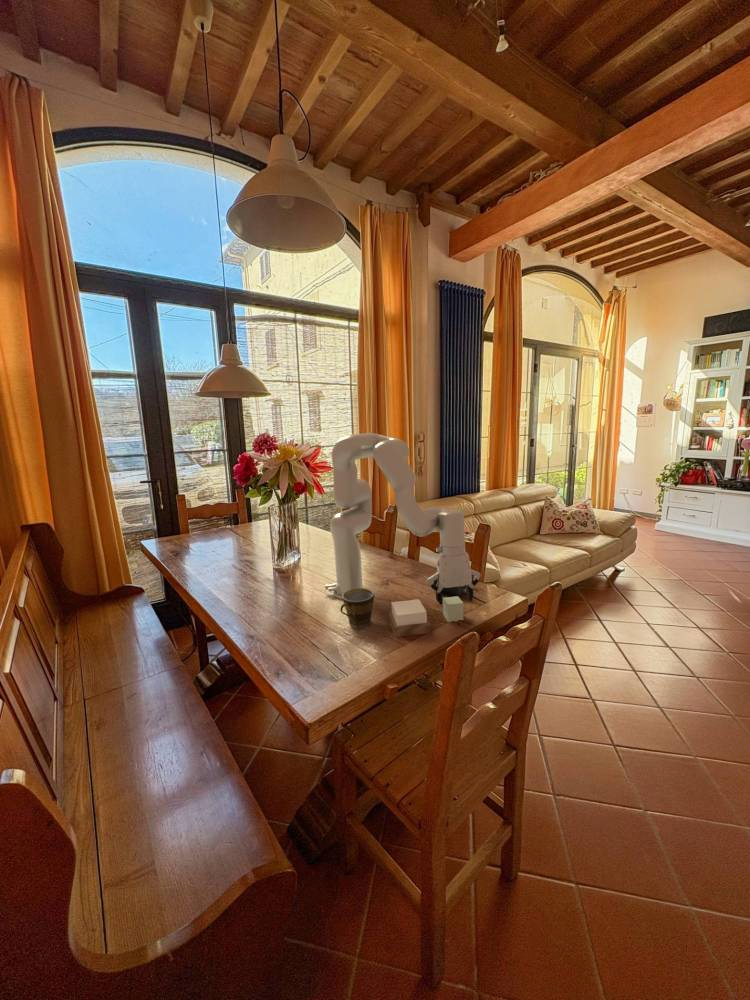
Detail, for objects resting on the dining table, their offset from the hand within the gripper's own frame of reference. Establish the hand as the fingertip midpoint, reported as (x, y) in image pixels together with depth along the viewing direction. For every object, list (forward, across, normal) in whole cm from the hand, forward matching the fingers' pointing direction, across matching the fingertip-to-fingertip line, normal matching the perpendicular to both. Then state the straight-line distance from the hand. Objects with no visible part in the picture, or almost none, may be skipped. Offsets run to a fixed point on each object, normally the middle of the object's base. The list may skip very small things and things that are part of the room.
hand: (454, 601), depth 129 cm
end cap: (+6, +4, +18) cm, 20 cm away
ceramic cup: (+5, -32, +2) cm, 32 cm away
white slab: (+3, -16, -2) cm, 16 cm away
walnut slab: (+6, -16, -1) cm, 17 cm away
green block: (+6, -1, 0) cm, 6 cm away
